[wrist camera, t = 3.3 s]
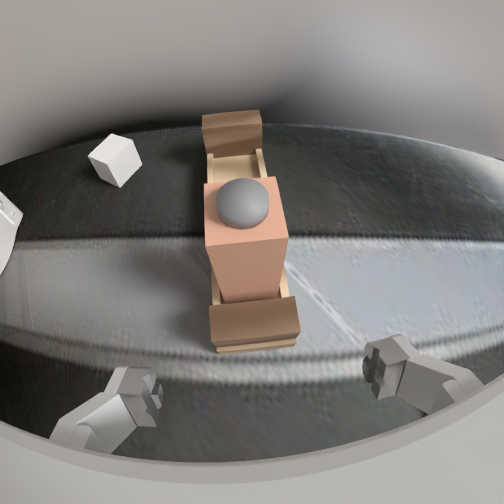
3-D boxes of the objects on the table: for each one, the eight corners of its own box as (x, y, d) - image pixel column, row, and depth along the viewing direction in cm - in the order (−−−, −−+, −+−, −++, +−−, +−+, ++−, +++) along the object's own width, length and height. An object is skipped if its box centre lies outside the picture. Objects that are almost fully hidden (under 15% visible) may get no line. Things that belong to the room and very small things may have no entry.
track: (293, 346, 25) (305, 331, 19) (219, 354, 25) (207, 342, 19) (258, 147, 38) (258, 107, 32) (209, 152, 38) (202, 112, 31)
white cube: (120, 188, 35) (106, 164, 31) (100, 178, 37) (87, 156, 32) (142, 164, 37) (132, 139, 33) (122, 156, 39) (111, 133, 34)
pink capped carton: (276, 299, 25) (290, 227, 15) (226, 305, 25) (202, 237, 14) (269, 254, 27) (276, 165, 17) (222, 260, 27) (201, 173, 17)
